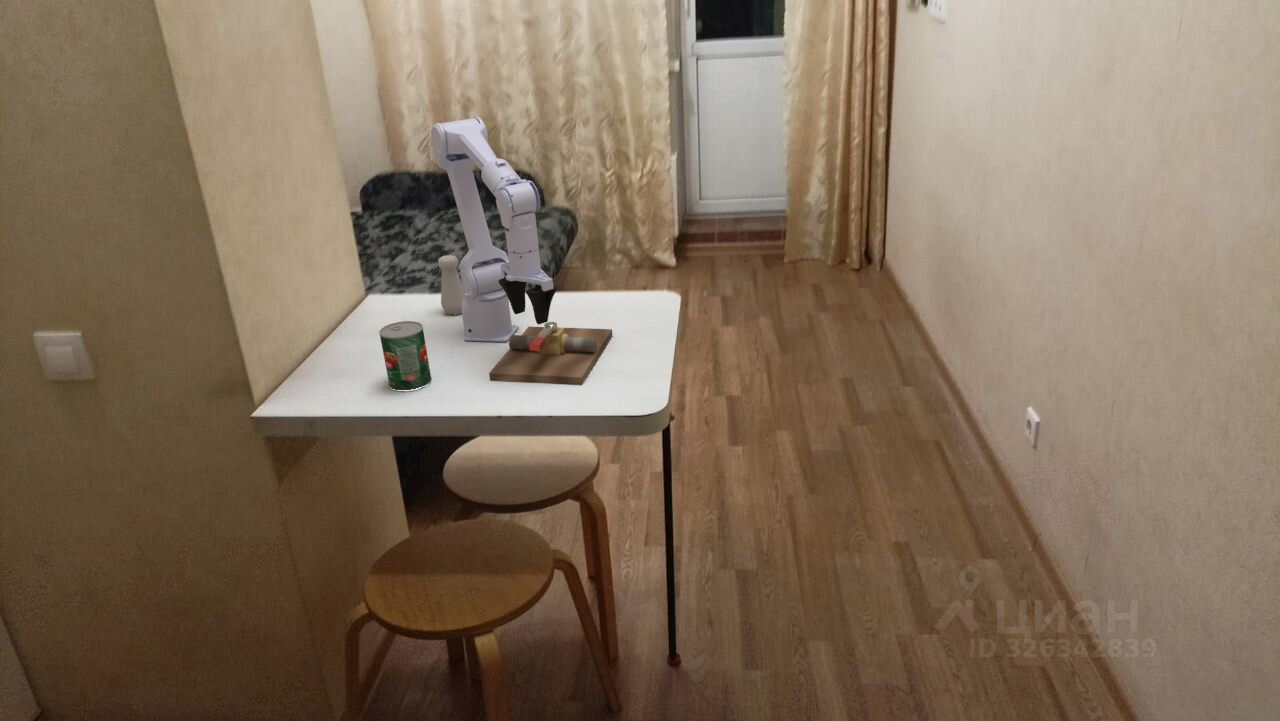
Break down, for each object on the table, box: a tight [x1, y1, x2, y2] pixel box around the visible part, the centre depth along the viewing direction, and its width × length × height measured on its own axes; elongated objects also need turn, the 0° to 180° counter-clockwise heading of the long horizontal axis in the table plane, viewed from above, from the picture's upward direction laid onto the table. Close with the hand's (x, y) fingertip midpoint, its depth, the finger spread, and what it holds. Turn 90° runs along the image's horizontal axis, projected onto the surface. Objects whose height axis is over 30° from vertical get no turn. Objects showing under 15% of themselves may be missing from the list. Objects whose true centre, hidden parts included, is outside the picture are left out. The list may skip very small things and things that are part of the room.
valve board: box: [488, 326, 613, 386], centre depth 180 cm, size 18×23×6 cm
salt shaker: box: [437, 254, 466, 316], centre depth 205 cm, size 6×6×13 cm
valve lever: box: [529, 321, 558, 351], centre depth 175 cm, size 2×11×1 cm, turn 168°
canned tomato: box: [379, 320, 433, 390], centre depth 172 cm, size 8×8×11 cm
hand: (530, 317), depth 175 cm, fingers open, 7 cm apart
